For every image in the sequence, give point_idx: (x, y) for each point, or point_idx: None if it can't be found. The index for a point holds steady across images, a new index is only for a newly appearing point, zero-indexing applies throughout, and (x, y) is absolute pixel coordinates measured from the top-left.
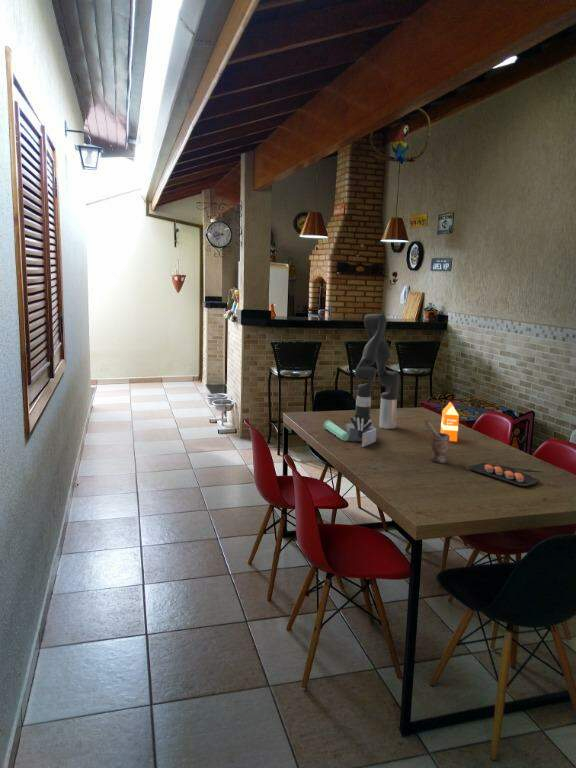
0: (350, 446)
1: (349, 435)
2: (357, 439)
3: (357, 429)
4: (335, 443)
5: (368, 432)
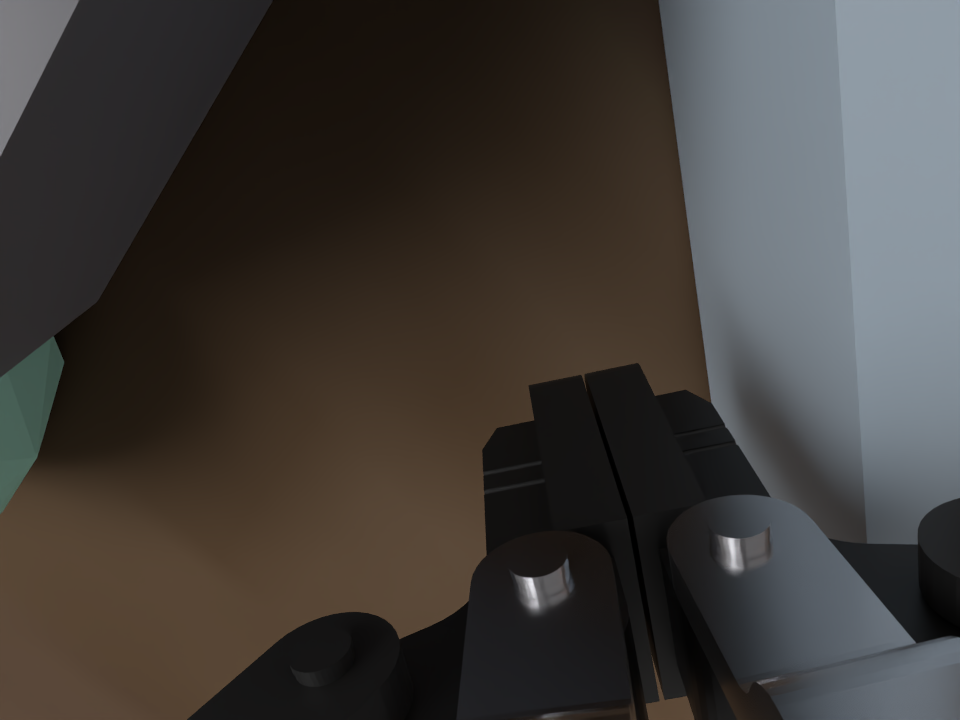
0: None
1: (5, 364)
2: (204, 93)
3: (14, 177)
4: (121, 709)
5: (954, 358)
